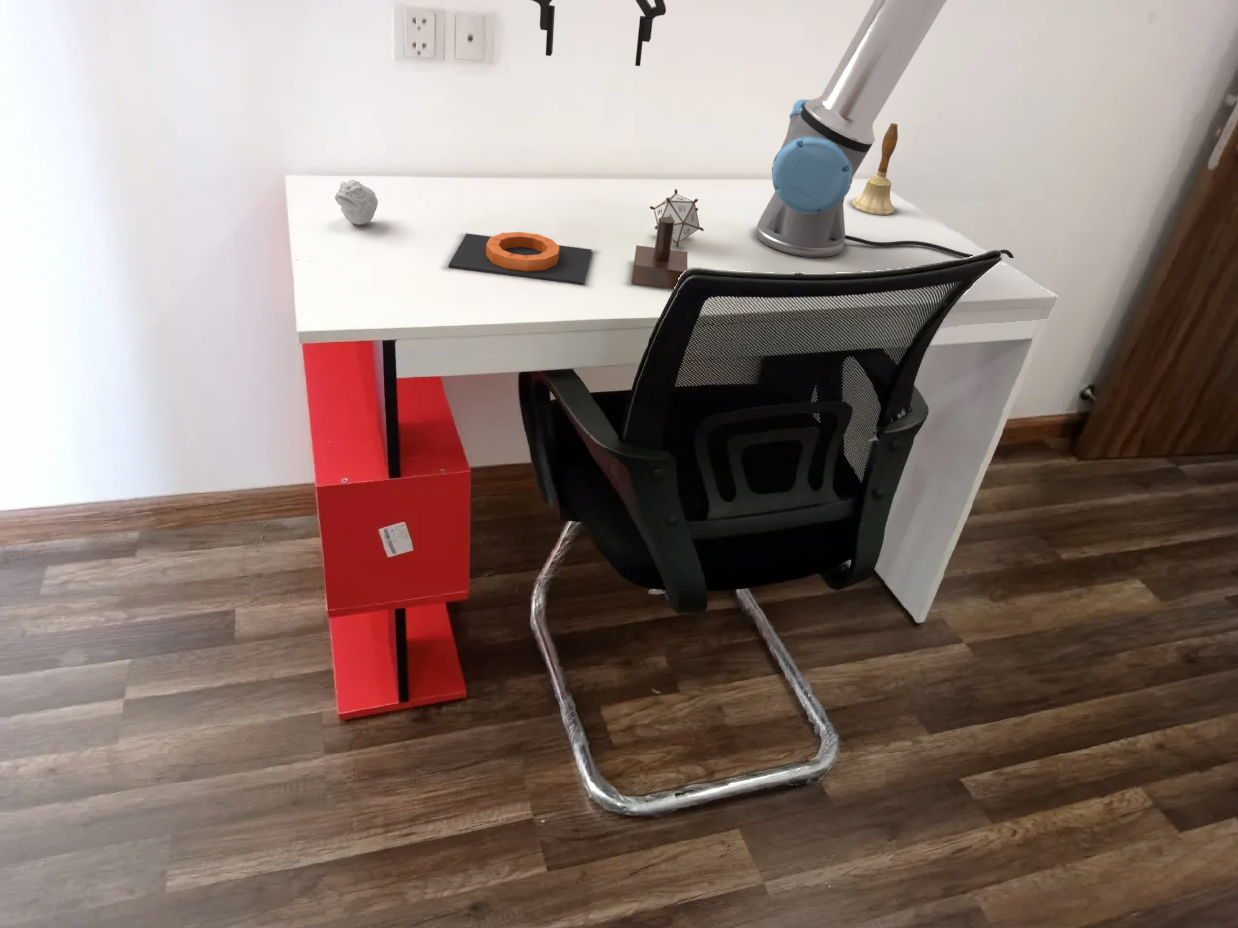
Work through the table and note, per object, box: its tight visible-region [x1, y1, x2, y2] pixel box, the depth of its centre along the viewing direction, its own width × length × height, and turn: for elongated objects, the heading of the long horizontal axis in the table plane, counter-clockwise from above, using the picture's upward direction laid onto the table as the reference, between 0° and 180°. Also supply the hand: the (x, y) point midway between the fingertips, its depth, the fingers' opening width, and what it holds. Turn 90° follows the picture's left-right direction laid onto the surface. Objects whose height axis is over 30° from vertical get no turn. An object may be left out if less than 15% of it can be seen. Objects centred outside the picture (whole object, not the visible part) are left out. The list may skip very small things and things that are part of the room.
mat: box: [447, 232, 592, 285], centre depth 139 cm, size 20×13×1 cm, turn 86°
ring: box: [486, 231, 560, 272], centre depth 138 cm, size 11×11×2 cm
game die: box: [649, 188, 705, 249], centre depth 149 cm, size 9×8×10 cm
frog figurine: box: [334, 179, 379, 226], centre depth 141 cm, size 6×7×7 cm
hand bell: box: [851, 122, 899, 216], centre depth 174 cm, size 8×8×16 cm
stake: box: [631, 217, 689, 290], centre depth 136 cm, size 8×8×9 cm
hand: (593, 59), depth 138 cm, fingers open, 13 cm apart
